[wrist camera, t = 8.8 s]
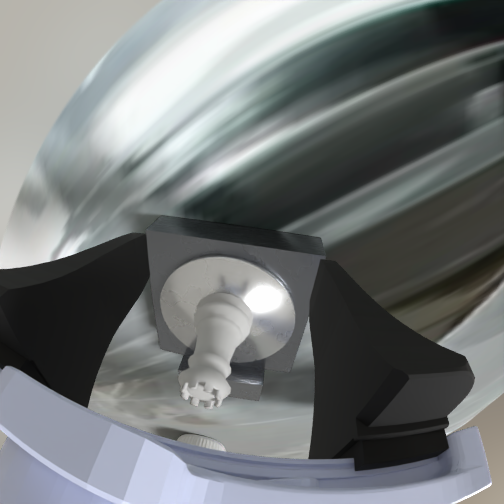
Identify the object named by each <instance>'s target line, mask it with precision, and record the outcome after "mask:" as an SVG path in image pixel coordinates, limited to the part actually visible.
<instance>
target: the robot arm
mask: <svg viewBox="0 0 504 504" xmlns="http://www.w3.org/2000/svg"><path fill="white" fill-rule="evenodd" d="M149 277H150V269H149V259H148V248H147V236H146V234H141V233H130V234H126V235H123V236H120V237H118V238H115V239H112V240H110V241H107V242H105V243H102V244H100V245H97V246H95V247H92V248H90V249H87V250H84V251H82V252H79V253H77V254H74V255H71V256H68V257H65V258H61V259H58V260H55V261H51V262H46V263H42V264H37V265H33V266H27V267H21V268H13V269H0V430H1V431H2V432H4V433H5V434H6V435H7V436H8V437H7V439H6V441H5V443H4V445H3V446H2V448H1V450H0V504H455V503H457V502H460V501H462V500H464V499H466V498H468V497H470V496H472V495H474V494H476V493H478V492H480V491H482V490H483V489H485V488H487V487H489V486H490V485H491V484H492V481H491V476H490V472H489V467H488V463H487V458H486V455H485V451H484V447H483V444H482V440H481V437H480V433H479V430H478V427H477V426H473V427H470V428H467V429H463V430H460V431H456V432H454V433H452V434H450V435H448V436H446V434H445V430H444V429H445V428H447V427H448V426H449V421H448V418H447V415H448V414H449V413H450V412H452V411H453V410H454V409H455V408H456V407H457V406H458V405H459V404H460V403H461V402H462V401H463V400H464V398H465V397H466V396H467V395H468V394H469V392H470V390H471V389H472V387H473V384H474V380H475V377H474V374H473V372H472V370H471V368H470V365H469V363H468V361H467V359H466V357H465V356H463V355H461V354H458V353H456V352H454V351H451V350H449V349H447V348H445V347H442V346H440V345H438V344H436V343H434V342H432V341H431V340H429V339H427V338H425V337H423V336H422V335H420V334H418V333H417V332H415V331H413V330H412V329H410V328H409V327H407V326H406V325H404V324H403V323H401V322H400V321H399V320H397V319H396V318H395V317H393V316H392V315H391V314H389V313H388V312H387V311H386V310H384V309H383V308H382V307H381V306H380V305H379V304H377V303H376V302H375V301H374V300H373V299H372V298H371V297H370V296H369V295H368V294H367V293H366V292H365V291H364V290H363V289H362V288H361V287H360V286H359V285H358V284H357V283H356V282H355V281H354V280H353V279H352V278H351V277H350V276H349V275H348V273H347V272H346V271H345V270H344V269H343V268H342V267H341V266H340V265H339V264H338V263H337V262H336V261H331V260H324V259H320V263H319V267H318V271H317V275H316V278H315V282H314V286H313V290H312V293H311V297H310V303H309V322H310V331H311V339H312V347H313V356H314V365H315V397H314V415H313V426H312V436H311V444H310V451H309V458H308V459H287V458H273V457H262V456H253V455H245V454H238V453H232V452H226V451H220V450H215V449H209V448H205V447H200V446H196V445H191V444H187V443H183V442H179V441H175V440H172V439H168V438H165V437H161V436H158V435H155V434H152V433H148V432H145V431H142V430H139V429H137V428H134V427H131V426H128V425H126V424H123V423H120V422H118V421H115V420H113V419H111V418H108V417H106V416H103V415H101V414H99V413H96V412H94V411H92V410H90V409H88V404H89V400H90V396H91V392H92V389H93V385H94V382H95V379H96V376H97V373H98V370H99V368H100V365H101V363H102V360H103V358H104V355H105V353H106V351H107V349H108V347H109V344H110V342H111V340H112V338H113V336H114V334H115V333H116V331H117V329H118V328H119V326H120V325H121V323H122V321H123V320H124V318H125V317H126V315H127V314H128V312H129V311H130V310H131V308H132V307H133V305H134V304H135V302H136V301H137V299H138V298H139V296H140V295H141V293H142V291H143V289H144V287H145V285H146V283H147V281H148V279H149Z"/></svg>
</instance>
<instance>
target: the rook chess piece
mask: <svg viewBox="0 0 504 504" xmlns="http://www.w3.org/2000/svg"><path fill="white" fill-rule="evenodd" d="M252 322H253V315H252V312H251V310H250V308H249V307H248V306H247V305H246V303H245V302H244V301H243V300H241V299H240V298H238V297H236V296H234V295H232V294H227V293H215V294H209V295H207V296H206V297H204V298H202V299H201V300H200V301H199V303H198V305H197V307H196V312H195V314H194V327H195V328H196V334H197V342H196V348H195V351H194V354H193V355H191V356H190V358H189V359H188V365H189V367H190V368H189V369H187V370H184V371H182V372H181V373H180V374H179V376H178V381H179V384H180V386H181V389H180V392H181V395H180V396H181V397H182V398H183V399H184V400H188V397H191V402H190V404H191V405H194V406H196V407H197V406H198V403H199V401H201V402H205V405H204V407H205V409H212V408H213V404H214V403H215V404H214V406H216V407H219V406H220V405H221V404H222V400H223V399H224V398H226V397H227V396H228V395H229V394H230V392H231V387H230V386H229V384H228V382H227V381H226V378H227V377H228V376H229V375H230V374H231V367H230V360H231V358H232V356H233V353H234V351H235V348H236V347H238V346H239V345H240V343H241V342H243V341H244V340H245V339H246V337H247V336H248V335H249V333H250V328H251V326H252Z"/></svg>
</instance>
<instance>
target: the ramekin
mask: <svg viewBox="0 0 504 504" xmlns="http://www.w3.org/2000/svg"><path fill="white" fill-rule="evenodd" d="M177 441H179V442H183V443H187V444H191V445H196V446H200V447H205V448H209V449H215V450H220V451H226V450H225V447H224V446H223V444H221V443H220V442H218V441H216V440H214V439H212V438H209V437H205V436H201V435H195V434H184V435H182V436H180V437H179V438H178V439H177Z"/></svg>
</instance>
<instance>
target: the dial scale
mask: <svg viewBox="0 0 504 504" xmlns="http://www.w3.org/2000/svg"><path fill="white" fill-rule="evenodd" d="M146 236H147V248H148V259H149V269H150V283H151V291H152V299H153V306H154V313H155V319H156V326H157V332H158V337H159V343H160V348H161V349H162V350H166V351H170V352H174V353H178V354H183V355H184V356H183V359H182V361H181V364H180V366H179V369H178V372H179V374H180V373H181V372H182V371H184V370H187V369H189V368H190V367H189V365H188V359H189V358H190V356H191V355H193V354H194V351H195V348H196V342H197V334H196V328H195V327H194V314H195V312H196V307H197V305H198V303H199V301H200V300H201V299H202V298H204V297H206V296H207V295H209V294H215V293H227V294H232V295H234V296H236V297H238V298H240V299H241V300H243V301H244V302H245V303H246V305H247V306H248V307H249V308H250V310H251V312H252V315H253V322H252V326H251V328H250V333H249V335H248V336H247V337H246V339H245V340H244V341H243V342H241V343H240V345H239V346H238V347H236V348H235V351H234V353H233V356H232V358H231V360H230V367H231V374H230V375H229V376H228V377H227V378H226V381H227V382H228V384H229V386H230V387H231V392H230V394H229V395H228V396H229V397H235V398H241V399H248V400H255V401H259V398H260V394H261V391H262V387H263V379H264V370H265V369H266V370H274V371H282V372H290V371H291V368H292V365H293V362H294V360H295V357H296V354H297V351H298V348H299V345H300V342H301V339H302V336H303V333H304V330H305V327H306V323H307V320H308V317H309V303H310V297H311V293H312V290H313V286H314V282H315V278H316V275H317V271H318V267H319V263H320V259H324V260H325V258H326V255H325V251H324V247H323V243H322V240H321V238H318V237H312V236H306V235H299V234H293V233H286V232H279V231H273V230H266V229H259V228H252V227H245V226H238V225H231V224H223V223H216V222H208V221H201V220H193V219H185V218H177V217H169V216H160V217H159V218H158V219H157V220H156V221H155V222H154V223H153V224H152V225H151V226H149V227H148V228H147V229H146Z"/></svg>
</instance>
